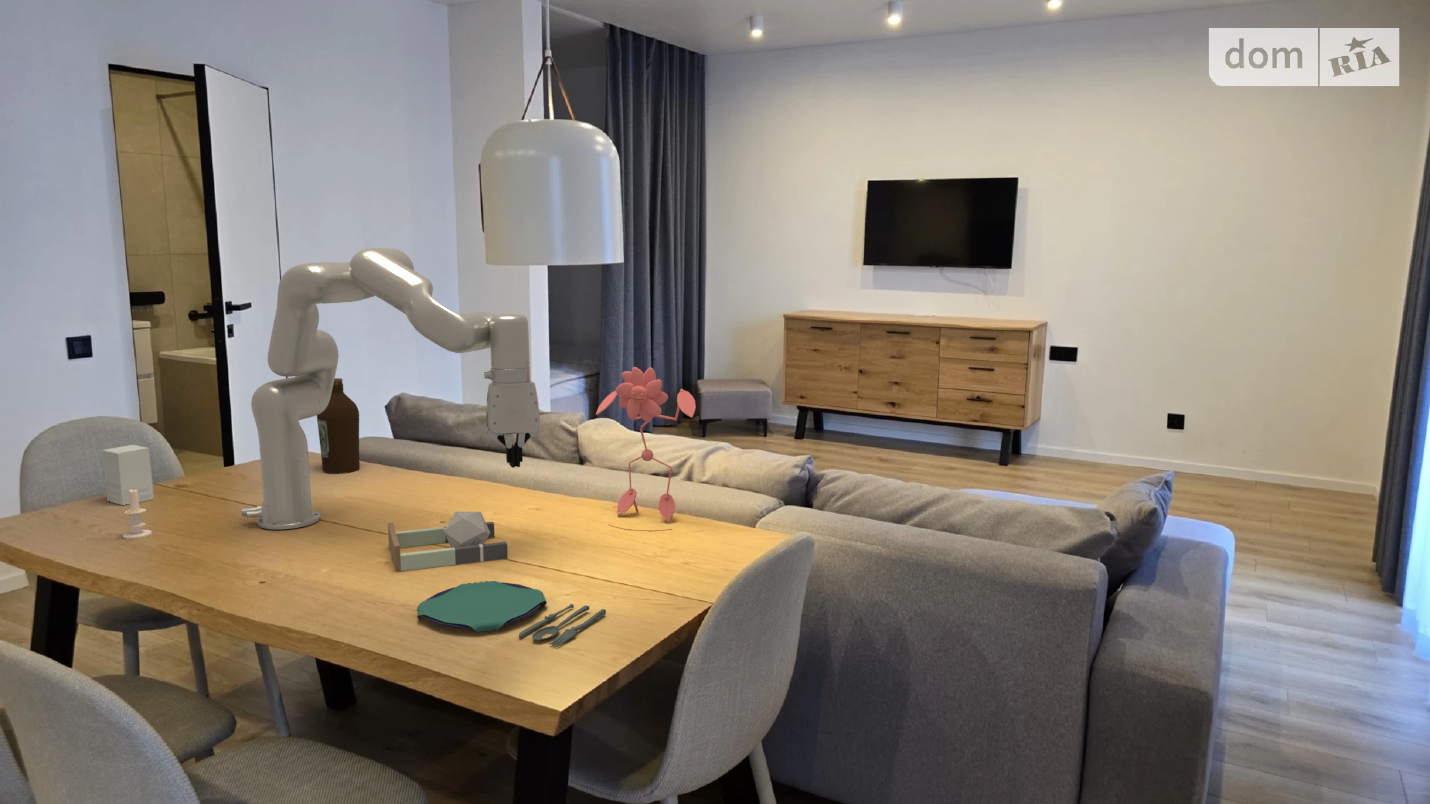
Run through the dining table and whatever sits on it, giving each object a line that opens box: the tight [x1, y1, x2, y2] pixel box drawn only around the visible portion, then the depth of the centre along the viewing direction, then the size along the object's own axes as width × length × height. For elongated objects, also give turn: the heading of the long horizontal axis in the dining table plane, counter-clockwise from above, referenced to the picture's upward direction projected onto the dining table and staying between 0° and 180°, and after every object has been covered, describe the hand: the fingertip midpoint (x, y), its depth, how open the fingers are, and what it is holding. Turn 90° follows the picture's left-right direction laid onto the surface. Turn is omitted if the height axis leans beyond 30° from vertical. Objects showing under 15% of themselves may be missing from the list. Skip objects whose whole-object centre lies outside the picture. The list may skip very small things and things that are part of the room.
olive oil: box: [316, 377, 361, 474], centre depth 251 cm, size 11×11×25 cm
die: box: [443, 511, 490, 548], centre depth 187 cm, size 8×9×10 cm
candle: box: [122, 489, 153, 539], centre depth 194 cm, size 5×5×10 cm
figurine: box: [595, 366, 697, 533], centre depth 205 cm, size 15×26×35 cm, turn 65°
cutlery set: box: [416, 580, 607, 647], centre depth 154 cm, size 20×30×2 cm, turn 64°
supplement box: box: [101, 444, 155, 506], centre depth 220 cm, size 7×7×13 cm
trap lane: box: [387, 521, 509, 573], centre depth 186 cm, size 21×16×5 cm
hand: (514, 465), depth 188 cm, fingers closed
